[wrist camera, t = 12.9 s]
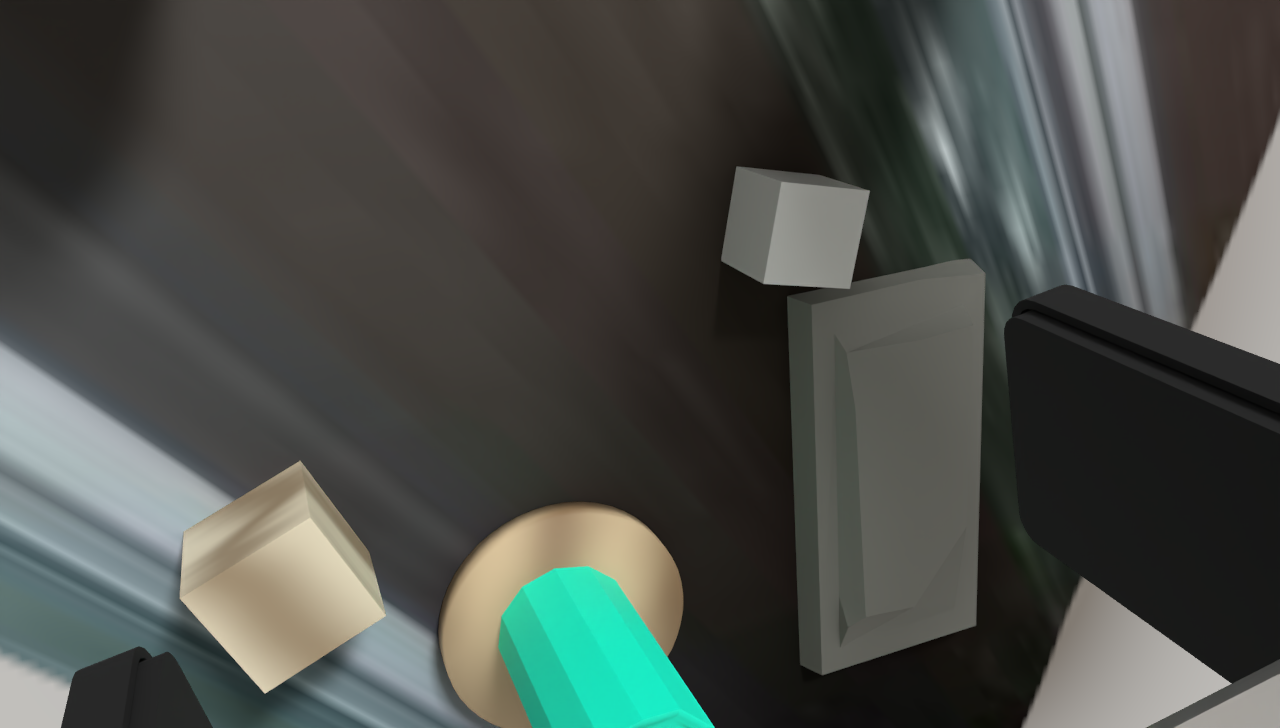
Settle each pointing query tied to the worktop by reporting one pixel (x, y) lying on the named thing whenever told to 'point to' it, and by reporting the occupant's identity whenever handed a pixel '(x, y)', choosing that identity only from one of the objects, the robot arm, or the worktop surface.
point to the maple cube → (279, 577)
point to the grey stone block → (794, 228)
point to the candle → (590, 658)
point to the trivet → (523, 557)
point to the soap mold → (886, 460)
